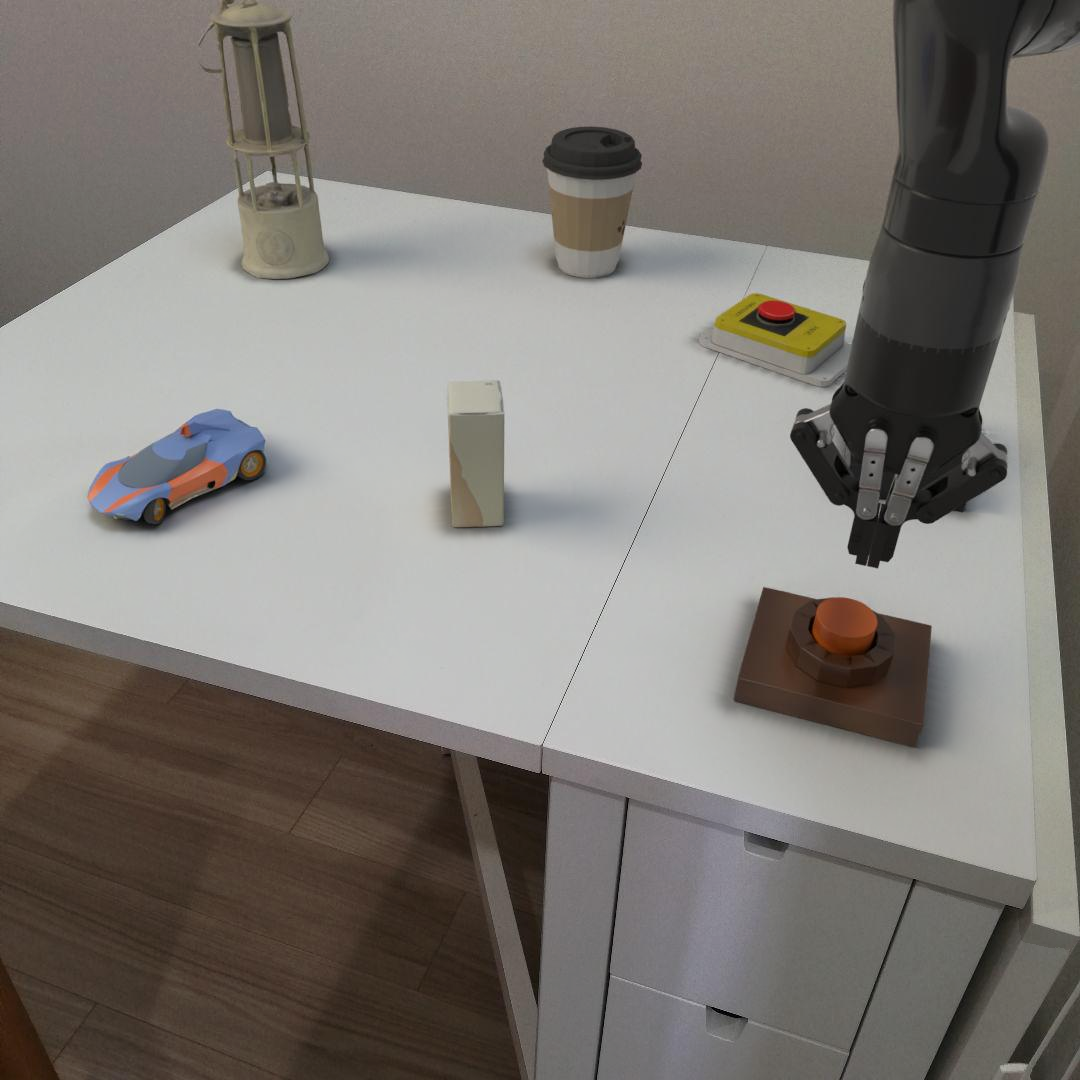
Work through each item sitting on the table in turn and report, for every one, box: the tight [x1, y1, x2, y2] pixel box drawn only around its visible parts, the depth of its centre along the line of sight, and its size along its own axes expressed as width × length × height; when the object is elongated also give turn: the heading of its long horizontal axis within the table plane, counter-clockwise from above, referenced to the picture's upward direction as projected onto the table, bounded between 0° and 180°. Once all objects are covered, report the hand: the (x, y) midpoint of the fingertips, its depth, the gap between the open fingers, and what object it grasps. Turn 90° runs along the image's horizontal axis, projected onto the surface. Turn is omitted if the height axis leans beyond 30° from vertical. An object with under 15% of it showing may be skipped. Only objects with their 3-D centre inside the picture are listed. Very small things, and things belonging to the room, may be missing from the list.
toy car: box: [87, 408, 267, 525], centre depth 88 cm, size 8×15×5 cm, turn 138°
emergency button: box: [698, 292, 852, 388], centre depth 110 cm, size 9×4×15 cm
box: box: [446, 379, 505, 528], centre depth 85 cm, size 5×4×11 cm
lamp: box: [198, 0, 330, 280], centre depth 118 cm, size 10×13×30 cm
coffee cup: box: [541, 125, 643, 279], centre depth 123 cm, size 11×11×15 cm
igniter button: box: [812, 596, 878, 656], centre depth 71 cm, size 4×4×2 cm
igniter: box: [733, 586, 933, 748], centre depth 73 cm, size 12×10×4 cm
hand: (868, 558), depth 68 cm, fingers closed
